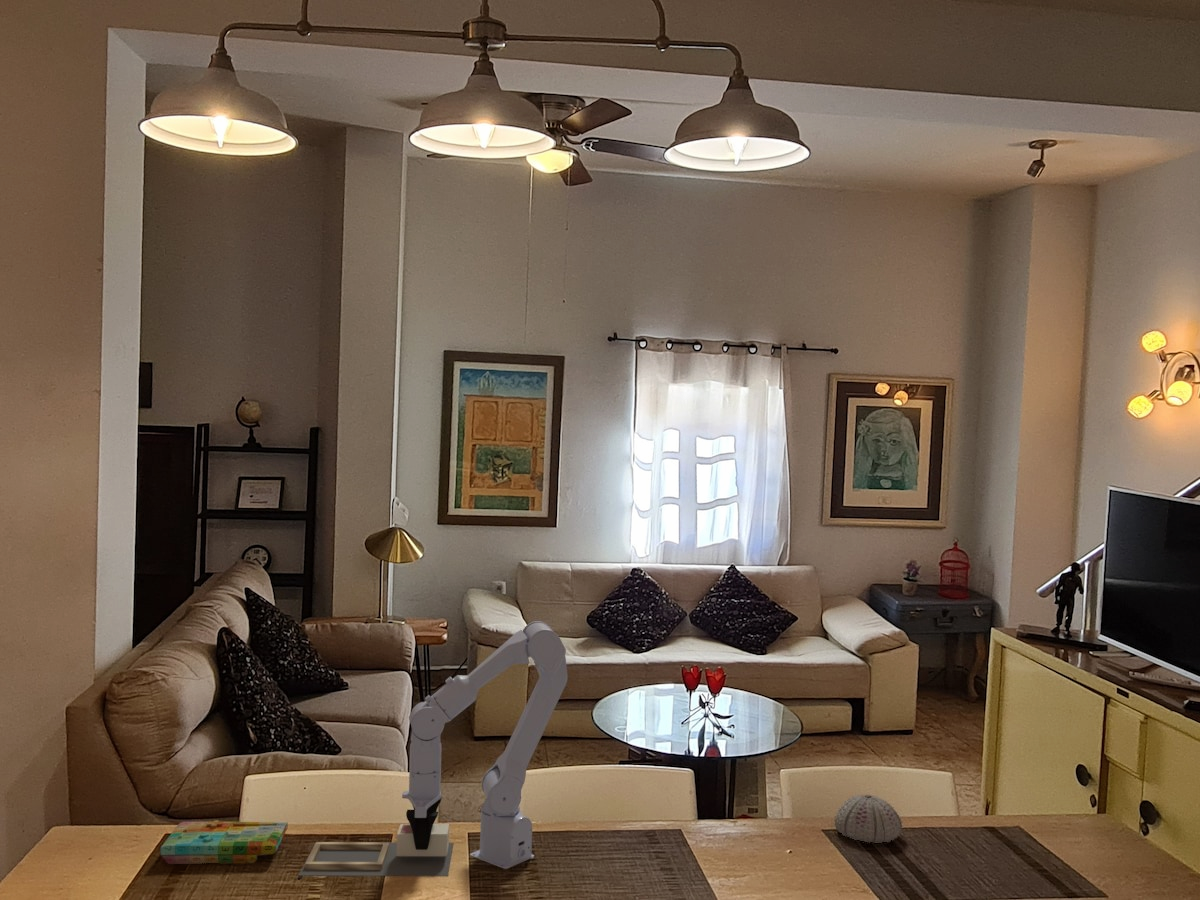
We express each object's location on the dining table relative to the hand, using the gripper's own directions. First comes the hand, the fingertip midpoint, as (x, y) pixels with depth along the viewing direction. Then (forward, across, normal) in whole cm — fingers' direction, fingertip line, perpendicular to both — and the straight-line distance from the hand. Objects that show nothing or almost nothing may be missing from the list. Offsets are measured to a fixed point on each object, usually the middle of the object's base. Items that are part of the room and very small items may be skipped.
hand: (423, 842), depth 194 cm
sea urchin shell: (+4, -14, +88) cm, 89 cm away
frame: (+3, 0, -14) cm, 14 cm away
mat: (+3, 0, -8) cm, 9 cm away
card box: (+1, 0, 0) cm, 1 cm away
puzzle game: (+4, -3, -36) cm, 37 cm away
